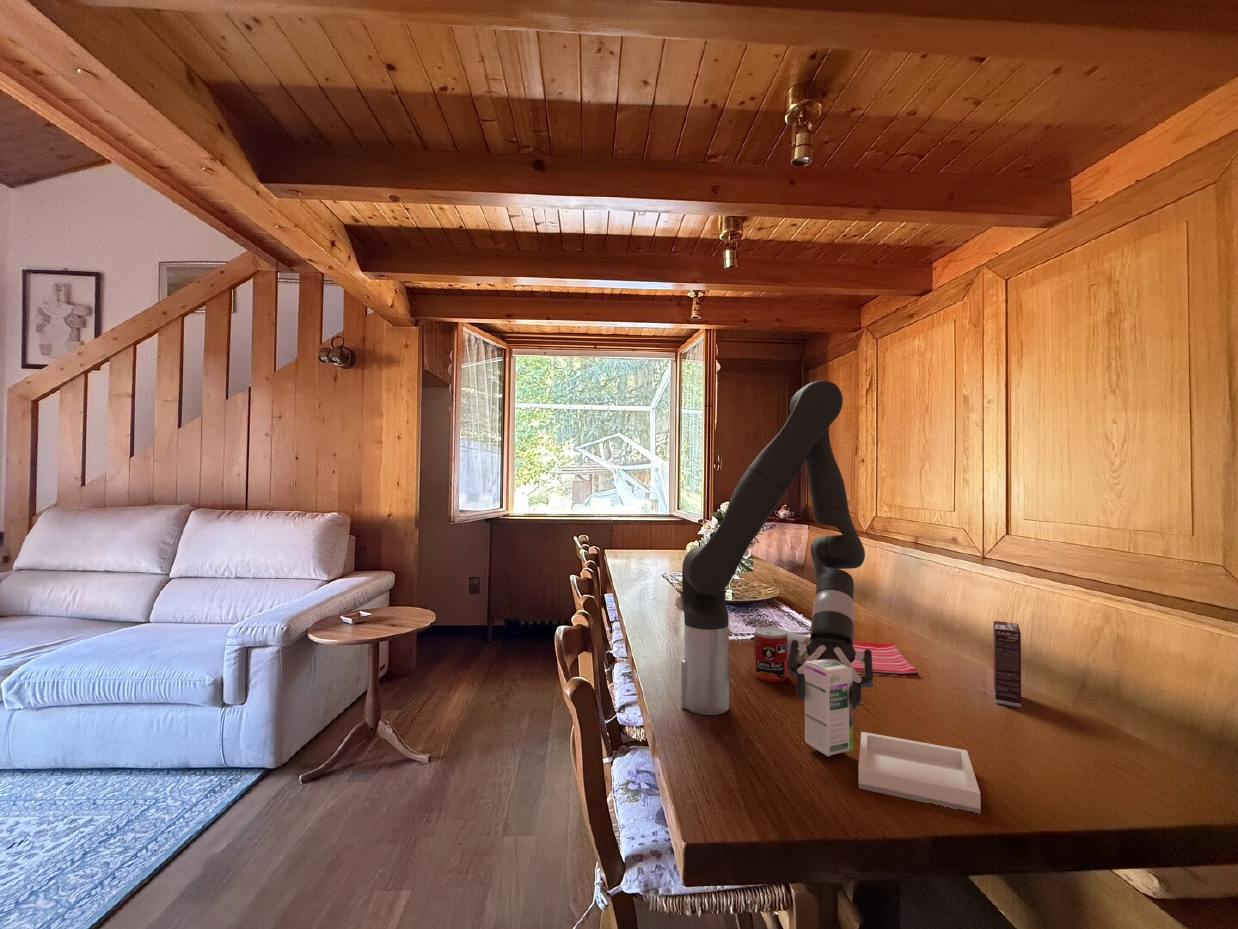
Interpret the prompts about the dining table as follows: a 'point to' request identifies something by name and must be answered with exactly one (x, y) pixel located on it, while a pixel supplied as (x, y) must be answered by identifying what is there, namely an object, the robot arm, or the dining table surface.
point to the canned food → (770, 654)
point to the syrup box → (828, 706)
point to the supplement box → (1007, 663)
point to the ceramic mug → (801, 639)
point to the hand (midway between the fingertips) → (827, 702)
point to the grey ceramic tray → (918, 772)
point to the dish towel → (884, 660)
